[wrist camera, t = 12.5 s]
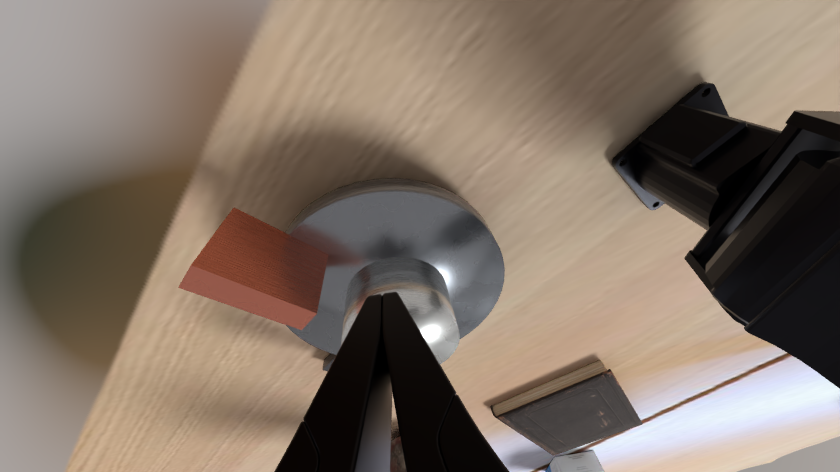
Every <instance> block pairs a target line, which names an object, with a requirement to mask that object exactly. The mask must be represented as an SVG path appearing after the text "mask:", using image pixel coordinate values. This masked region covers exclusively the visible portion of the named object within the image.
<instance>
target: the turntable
mask: <svg viewBox="0 0 840 472" xmlns="http://www.w3.org/2000/svg"><path fill="white" fill-rule="evenodd" d="M393 257H409V258H415V259H419V260H422V261H425V262H427V263H429V264H431V265H432V266H434V267H435V268H436V269H437V270H439V271H440V273H441V274H442V275H443V277H444V279H445V282H446V285H447V289H448V293H449V296H450V300H451V304H452V307H453V311H454V315H455V318H456V322H457V326H458V329H459V335H460V338H459V339H461V338H462V337H464V336H465V335H467V334H468V333H470V332H471V331H472V330H473V329H475V328H476V327H477V326H478V325H479V324H480V323H481V322H482V321H483V320H484V319H485V318H486V317H487V316H488V314H489V313H490V312H491V310H492V309H493V307H494V306H495V304H496V302H497V301H498V298H499V296H500V293H501V291H502V287H503V282H504V271H505V269H504V261H503V257H502V254H501V251H500V248H499V246H498V244H497V242H496V240H495V239H494V237H493V235H492V233H491V231H490V229H489V228H488V226H487V224H486V222H485V220H484V219H483V218H482V217H481V215H480V214H479V213H478V212H477V210H475V209H474V208H473V207H472V206H471V205H470V204H469V203H468V202H467V201H465V200H464V199H462V198H461V197H459V196H458V195H456V194H454V193H452V192H450V191H448V190H446V189H444V188H442V187H439V186H436V185H433V184H430V183H426V182H421V181H416V180H411V179H397V178H386V179H373V180H367V181H362V182H356V183H353V184H350V185H347V186H344V187H340V188H338V189H336V190H334V191H332V192H329V193H327V194H325V195H323V196H322V197H320V198H319V199H317V200H316V201H314V202H312V203H311V204H310V205H309V206H308V207H306V208H305V209H304V210H303V211H302V212H301V213H299V215H298V216H297V217H296V218H295V219H294V221H293V222H292V223H291V224H290V226H289V227H288V229H287V231H286V232H285V233H284V232H282V231H280V230H278V229H276V228H274V227H272V226H270V225H268V224H266V223H264V222H262V221H260V220H258V219H256V218H254V217H252V216H250V215H248V214H246V213H244V212H242V211H240V210H238V209H236V208H233V209H232V211H231V212H230V213H229V215H228V216H227V217H226V219H225V220H224V221H223V223H222V224H221V225H220V227H219V228H218V229H217V231H216V232H215V234H214V235H213V236H212V238H211V239H210V240H209V242H208V243H207V244H206V246H205V247H204V248H203V250H202V251H201V252H200V254H199V255H198V256H197V258H196V259H195V260H194V262H193V263H192V265H191V266H190V268H189V270H188V271H187V273H186V275H185V277H184V278H183V280H182V282H181V284H180V285H179V287H178V288H181V289H184V290H187V291H190V292H193V293H196V294H199V295H202V296H204V297H207V298H210V299H213V300H216V301H219V302H222V303H225V304H227V305H230V306H233V307H236V308H239V309H242V310H245V311H248V312H250V313H253V314H256V315H259V316H262V317H265V318H268V319H271V320H274V321H276V322H279V323H282V324H285V325H286V326H287V327H288V328H289V329H290V330H291V331H292V332H293V333H295V334H296V335H297V336H298V337H300V338H301V339H303V340H304V341H306V342H307V343H309V344H311V345H313V346H315V347H317V348H319V349H321V350H324V351H326V352H329V353H331V354H335V355H337V353H338V351H339V349H340V347H341V340H342V331H343V321H344V311H345V301H346V292H347V287H348V284H349V283H350V281H351V279H352V278H353V277H354V275H355V274H356V273H357V272H358V271H360V270H361V269H362V268H364V267H365V266H367V265H369V264H371V263H373V262H376V261H379V260H382V259H386V258H393Z"/></svg>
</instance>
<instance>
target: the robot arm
mask: <svg viewBox="0 0 840 472" xmlns="http://www.w3.org/2000/svg"><path fill="white" fill-rule="evenodd" d="M703 91H704V92H703ZM786 123H787V125H786V127H785V128H784V129H783V131H779V130H775V129H772V128H768V127H764V126H761V125H757V124H754V123H750V122H746V121H743V120H739V119H736V118H732V117H729V116H728V114H727V111H726V109H725V107H724V105H723V102H722V100H721V98H720V96H719V94H718V91H717V89H716V87H715V85H714V84H712V83H707V82H703V83H701V84H699V85H698V86H697V87H695V88H694V89H693V90H692V91H691V92H690V93H688V94H687V95H686V96H685V97H684V98H683V99H682V100H680V101H679V102H678V103H677V104H676V105H675V106H673V107H672V108H671V109H670V110H669V111H668V112H666V113H665V114H664V115H663V116H662V117H661V118H660V119H658V120H657V121H656V122H655V123H654V124H653V125H651V126H650V127H649V128H648V129H647V130H646V131H644V132H643V133H642V134H641V135H640V136H639V137H638V138H636V139H635V140H634V141H633V142H632V143H631V144H629V145H628V146H627V147H626V148H625V149H624V150H623V151H621V152H620V153H619V154H618V155H617V156H616V157H615V158H614V159H613V161H612V166H613V167H614V168H615V170H616V171H617V172H618V173H619V175H620V176H621V177H622V178H623V179H624V181H625V182H626V183H627V184H628V185H629V187H630V188H631V189H632V190H633V191H634V193H635V194H636V195H637V196H638V198H639V199H640V200H641V201H642V202H643V204H644V205H645V206H646V207H647V208H649V209H650V210H656V209H658V208H659V207H660V206H662V205H663V204H664V203H665V204H667V205H668V206H670V207H671V208H673V209H675V210H676V211H678V212H679V213H681V214H682V215H684V216H686V217H687V218H689V219H690V220H692V221H693V222H695V223H697V224H698V225H700V226H701V227H703V228H704V229H706V230H707V231H706V233H705V234H704V235H703V237H702V238H701V239H700V241H699V242H698V243H697V245H696V246H695V247H694V249H693V250H690V251H689V252H688V254H687V255H686V256H685V260H686V261H687V262H688V264H689V265H690V266H691V268H692V269H693V270H694V271H695V273H696V274H697V275H698V277H699V278H700V279H701V281H702V282H703V283H704V284H705V286H706V287H707V288H708V290H709V291H710V292H711V294H712V295H713V297H714V298H715V299H716V300H717V301H718V303H719V304H720V305H721V306H722V308H723V309H724V310H725V311H726V312H727V313H728V314H729V315H730V316H731V317H732V318H733V319H734V320H735V321H737V322H738V323H741V324H742V325H744V326H745V327H744V329H745V330H746V331H747V332H748V333H750V334H752V335H754V336H756V337H758V338H761V339H763V340H765V341H767V342H769V343H771V344H773V345H775V346H777V347H779V348H780V349H782V350H784V351H785V352H787V353H789V354H791V355H792V356H794V357H796V358H797V359H799V360H801V361H802V362H804V363H805V364H807V365H808V366H809V367H811V368H812V369H814V370H815V371H817V372H818V373H819V374H821V375H822V376H823V377H825V378H826V379H828V380H829V381H830V382H832V383H833V384H834V385H836V386H837V387H838V388H840V112H833V111H794V112H793V113H792V115H791V116H790V117H789V119H788V120H787V121H786ZM622 160H623V161H622ZM621 161H622V162H621ZM620 162H621V163H620ZM619 163H620V164H619ZM392 392H393V398H394V403H395V409H396V415H397V420H398V426H399V432H400V437H401V443H402V449H403V454H404V460H405V466H406V471H407V472H509V471H508V469H507V468H506V467H505V465H504V464H503V463H502V461H501V460H500V459H499V457H498V456H497V455H496V453H495V452H494V450H493V449H492V448H491V446H490V445H489V443H488V442H487V440H486V439H485V438H484V436H483V435H482V433H481V432H480V430H479V429H478V427H477V426H476V424H475V422H474V421H473V419H472V418H471V416H470V414H469V413H468V411H467V410H466V408H465V406H464V405H463V403H462V401H461V399H460V398H459V396H458V395H456V391H455V390H454V388H453V386H452V384H451V383H450V381H449V379H448V378H447V376H446V374H445V372H444V371H443V369H442V367H441V366H440V364H439V362H438V361H437V359H436V357H435V355H434V354H433V352H432V350H431V349H430V347H429V345H428V343H427V342H426V340H425V338H424V337H423V335H422V333H421V332H420V330H419V328H418V326H417V325H416V323H415V321H414V320H413V318H412V316H411V314H410V313H409V311H408V309H407V308H406V306H405V304H404V302H403V301H402V299H401V297H400V296H399V294H398V293H397V292H389V293H384V294H383V296H382V295H381V294H377V295H370V296H368V297H367V298H366V299H365V301H364V303H363V305H362V307H361V309H360V311H359V313H358V315H357V317H356V319H355V321H354V322H353V324H352V326H351V328H350V330H349V332H348V334H347V336H346V338H345V340H344V342H343V343H342V345H341V347H340V349H339V351H338V353H337V355H336V357H335V359H334V361H333V363H332V365H331V366H330V368H329V370H328V372H327V374H326V376H325V378H324V380H323V382H322V384H321V386H320V388H319V389H318V391H317V393H316V395H315V397H314V399H313V401H312V403H311V405H310V407H309V409H308V411H307V412H306V414H305V416H304V422H301V424H300V426H299V427H298V429H297V431H296V433H295V435H294V437H293V439H292V441H291V443H290V445H289V446H288V448H287V450H286V452H285V454H284V455H283V457H282V459H281V461H280V463H279V464H278V466H277V468H276V470H275V471H274V472H390V452H391V416H392Z"/></svg>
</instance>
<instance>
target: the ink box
mask: <svg viewBox="0 0 840 472" xmlns="http://www.w3.org/2000/svg"><path fill="white" fill-rule="evenodd" d="M545 472H604V470H603V468H602V466H601V464H600V462H599V460H598V458H597V456H596V454H595V452H594V451H589V452H582V453H576V454H570V455H563V456H557V457H554V458H553V460H552V462H551V463H550V465H549V467H548V468H547V470H546V471H545Z"/></svg>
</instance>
